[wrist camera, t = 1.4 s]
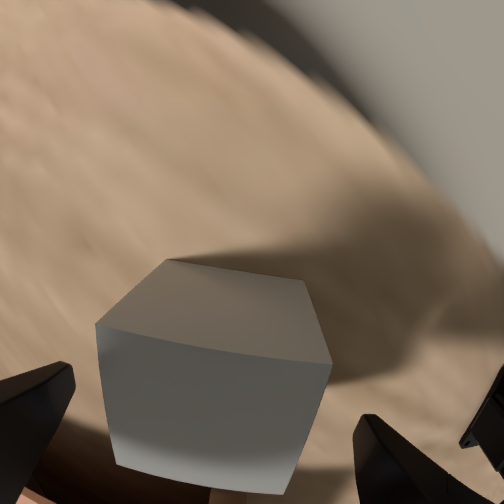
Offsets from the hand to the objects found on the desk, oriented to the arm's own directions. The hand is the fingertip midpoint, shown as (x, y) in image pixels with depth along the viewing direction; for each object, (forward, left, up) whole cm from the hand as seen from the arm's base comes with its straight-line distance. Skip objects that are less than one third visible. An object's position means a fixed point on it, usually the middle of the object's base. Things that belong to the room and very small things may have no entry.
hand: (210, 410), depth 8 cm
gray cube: (0, 0, -5) cm, 5 cm away
